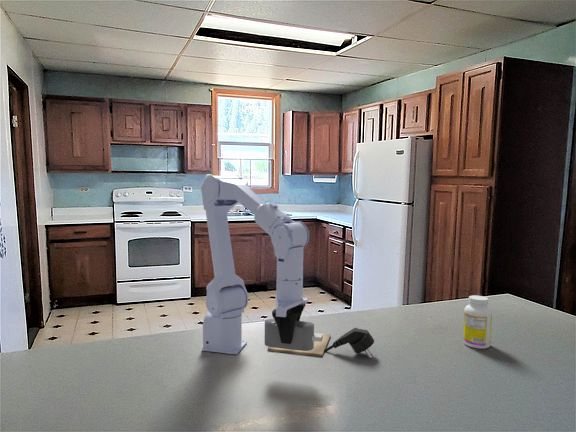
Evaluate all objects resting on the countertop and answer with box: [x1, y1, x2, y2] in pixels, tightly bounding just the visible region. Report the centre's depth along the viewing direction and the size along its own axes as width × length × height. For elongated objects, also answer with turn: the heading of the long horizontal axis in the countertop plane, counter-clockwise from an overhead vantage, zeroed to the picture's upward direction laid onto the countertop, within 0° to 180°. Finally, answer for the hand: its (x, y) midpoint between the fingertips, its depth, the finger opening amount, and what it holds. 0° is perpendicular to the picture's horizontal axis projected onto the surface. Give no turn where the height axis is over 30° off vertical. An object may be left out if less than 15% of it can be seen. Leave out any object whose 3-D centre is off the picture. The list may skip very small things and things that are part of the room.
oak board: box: [267, 332, 331, 358], centre depth 109 cm, size 14×14×1 cm
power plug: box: [324, 327, 375, 359], centre depth 103 cm, size 6×8×12 cm
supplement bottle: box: [462, 294, 493, 350], centre depth 109 cm, size 7×7×13 cm
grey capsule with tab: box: [264, 318, 324, 351], centre depth 90 cm, size 13×4×5 cm, turn 76°
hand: (288, 339), depth 90 cm, fingers closed on grey capsule with tab, 4 cm apart
